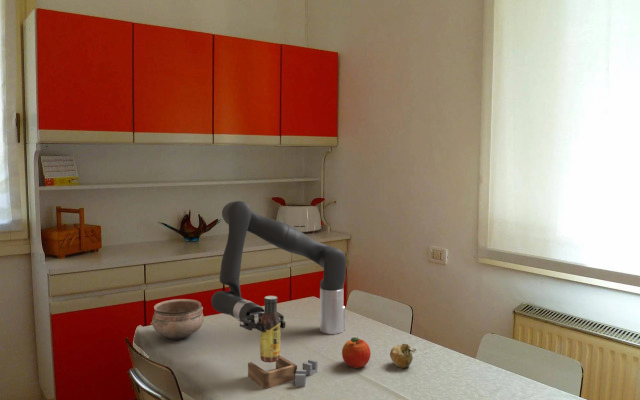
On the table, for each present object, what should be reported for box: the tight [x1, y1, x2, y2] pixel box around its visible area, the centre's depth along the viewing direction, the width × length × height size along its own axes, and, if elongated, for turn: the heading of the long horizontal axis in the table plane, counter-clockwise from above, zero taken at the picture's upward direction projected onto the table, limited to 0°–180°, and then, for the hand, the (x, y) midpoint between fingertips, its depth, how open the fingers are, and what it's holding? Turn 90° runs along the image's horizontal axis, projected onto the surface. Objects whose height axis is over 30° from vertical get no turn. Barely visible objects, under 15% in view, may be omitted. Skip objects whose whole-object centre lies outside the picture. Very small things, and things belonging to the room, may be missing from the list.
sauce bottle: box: [259, 295, 281, 364], centre depth 167 cm, size 7×6×20 cm
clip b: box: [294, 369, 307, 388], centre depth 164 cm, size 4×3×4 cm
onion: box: [389, 343, 417, 369], centre depth 178 cm, size 8×8×8 cm
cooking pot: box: [150, 298, 205, 341], centre depth 204 cm, size 25×19×12 cm
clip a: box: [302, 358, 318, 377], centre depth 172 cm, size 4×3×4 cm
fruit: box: [341, 336, 372, 369], centre depth 178 cm, size 10×10×10 cm
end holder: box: [247, 354, 298, 390], centre depth 168 cm, size 11×11×4 cm
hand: (274, 327), depth 165 cm, fingers closed on sauce bottle, 6 cm apart
